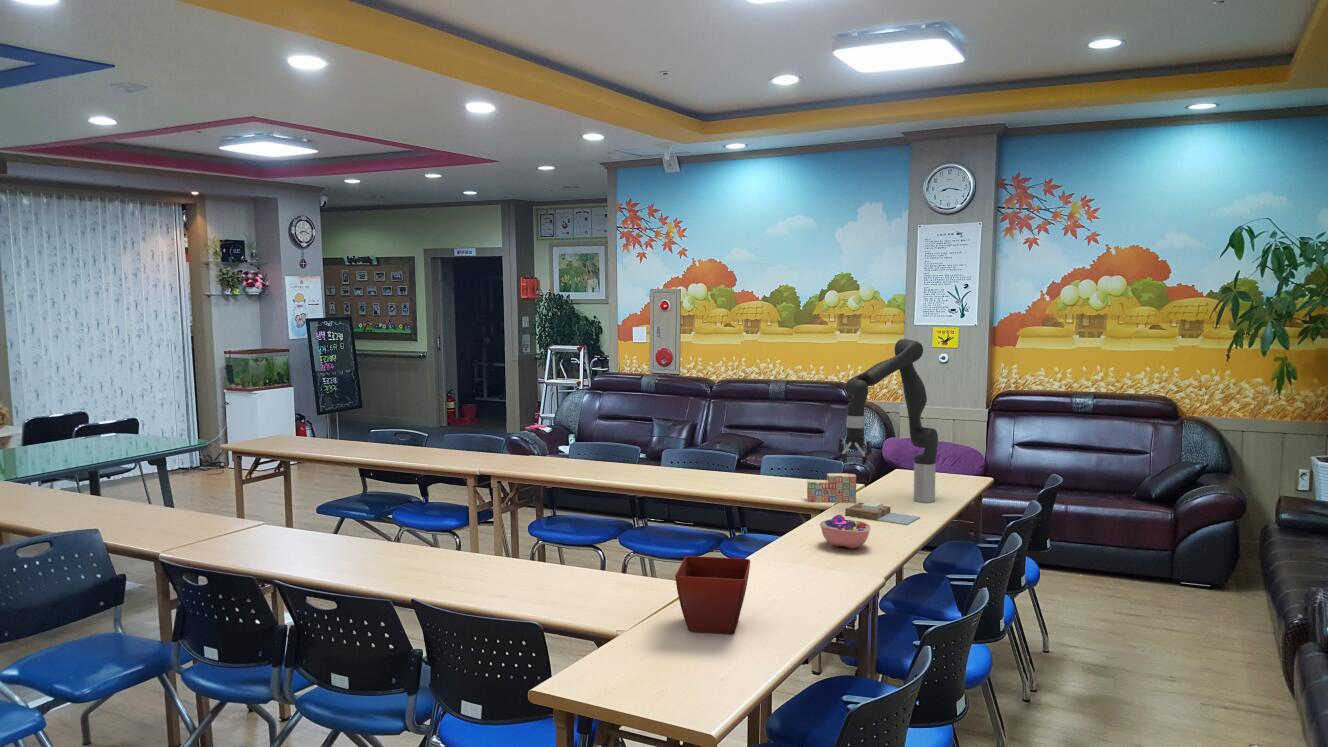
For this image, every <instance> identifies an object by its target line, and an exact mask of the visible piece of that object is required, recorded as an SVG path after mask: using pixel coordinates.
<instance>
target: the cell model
mask: <svg viewBox="0 0 1328 747" xmlns="http://www.w3.org/2000/svg"><path fill="white" fill-rule="evenodd" d="M819 527H820V529H821V534H822V536H823V538H824V539H825V540H826V542H827V543H828V544H829V545H832V546H834V547H840V548H841V547H842V548H843V547H844V548H848V549H856V548H859V547H861V546H863V545H865V543H866V542H867V540H868V538H869V535H870V531H871V525H870V524H868V523H866V522H864V521H858V520H853V519H846V518H845V516H843V515H841V514H836V515H834V516H833V517H832V518H831V519H826V520H822V521H821V522H820V523H819Z"/></svg>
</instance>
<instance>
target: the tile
mask: <svg viewBox="0 0 1328 747" xmlns="http://www.w3.org/2000/svg"><path fill="white" fill-rule="evenodd" d="M883 506H884V502H880V501H879V502H877V501H867V502H865V504H862V510H869V511H877V510H879V509H881V508H883Z"/></svg>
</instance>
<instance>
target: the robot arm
mask: <svg viewBox="0 0 1328 747" xmlns="http://www.w3.org/2000/svg"><path fill="white" fill-rule="evenodd" d="M923 353H924V347H923V344H922V343H920V342H919V341H917V340H912V339H906V338H901V339H899V340H897V341H896V343H895V345H894V355H895V356H893V357H890V358H888V359H885V360H883V361H879V362H877V363H875V364H874V365H872V366H871V367H869V368H868V369H866V370H865V371H864V372H862V373H860V374H858V375H855V376H852V377H851V378H849V379H848V380H847V381H846V382H845V385H844V391H845V393H846V394H847V395H849V396H853V399H852V401H850V402H848V404H847V409H846V410H847V414H846V415H847V416H846V424H845V425H846V429H845V430H846V433H845V438H843V437H842V438H839V439H838V448H837V452H838V453H840V454H842V458H841V459H842V462H843V464H847V462H848V452H849V451H850V450H852V451H853V450H854V451H859V452H860V454H861V455H862V456H861V457H862V458H861V462H862V463H861V464H862V466H866V464H867V463H868V456H871V455H872V450H873V449H872V440H865V426H866V425H865V405H866V403H867V399H868V396H869V395H868V394H869V387H872V386H875V385H877V384H878V383H880V382H882V380H885V379H886V378H887V377H889V375H891V374H894V373H895V372H896V371H898V370H899V373H900V377H901V383H902V387H903V388H902V389H903V395H904V400H905V404H906V409H907V415H908V416H907V417H908V424H909V437H910V441H911V444H912V445H913V447H915V448H921V449H922V448H923V453H921V454H917V455H915V456H914V459H913V464H914V465H913V469H914V470H913V501H914V502H918V503H934V502H935V501H936V464H937V463H936V460H937V456H938V445H939V444H938V443H939V436H938V435H939V433H938V431H937V430H936V429H935V428H932V427H924V426H922V422H921V416H922V413H923V411H924V409H925V407H926V405H927V402H928V397H927V391H926V386H925V384H924V382H923V381H922V379H921V377H920V375H919V374H918V372H917V370H916V369H915V365H914V363H915V362H917V361H919V359H921V358H922V356H923ZM844 444H846V446H845V448H844ZM864 445H865V447H866V448H865V447H864Z"/></svg>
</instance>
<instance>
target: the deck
mask: <svg viewBox="0 0 1328 747" xmlns="http://www.w3.org/2000/svg"><path fill="white" fill-rule="evenodd" d="M865 503H866V502H865ZM865 503H864V502H858V503H854V504H853V505H852V506H849V507H847V508H845V509H844V510H845V511H844V515H845V516H844V517H848V516H850V518H855V517H857V518H858V519H862V518H863V520H869V521H876V522H877V519H879V518H881V517H883V516H885V515H887V514H889V513H891V506H887V505H883V508H881V509H879V510H877V511H869V510H862V504H865Z"/></svg>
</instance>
